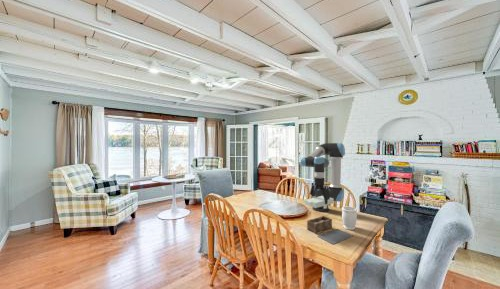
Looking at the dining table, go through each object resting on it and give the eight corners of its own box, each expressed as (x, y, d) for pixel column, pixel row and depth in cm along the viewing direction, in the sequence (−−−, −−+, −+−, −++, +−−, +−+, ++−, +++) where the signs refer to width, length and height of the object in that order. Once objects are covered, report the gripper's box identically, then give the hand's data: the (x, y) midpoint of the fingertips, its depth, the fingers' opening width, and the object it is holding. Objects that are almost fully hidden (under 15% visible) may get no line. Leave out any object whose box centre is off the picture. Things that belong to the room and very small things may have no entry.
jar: (344, 223, 166) (344, 205, 165) (358, 227, 159) (358, 207, 159) (340, 228, 157) (340, 209, 157) (354, 232, 151) (355, 211, 150)
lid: (323, 199, 165) (323, 195, 165) (333, 203, 157) (333, 198, 157) (303, 204, 155) (303, 200, 155) (313, 208, 146) (313, 203, 146)
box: (323, 224, 165) (323, 215, 165) (331, 228, 158) (331, 219, 158) (307, 229, 156) (307, 220, 156) (315, 233, 149) (315, 224, 149)
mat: (337, 229, 156) (337, 228, 156) (353, 236, 145) (353, 235, 145) (317, 236, 145) (317, 235, 145) (332, 244, 134) (332, 244, 134)
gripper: (305, 175, 163) (305, 203, 164) (328, 180, 144) (328, 211, 145) (311, 174, 167) (311, 201, 168) (335, 179, 148) (335, 209, 148)
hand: (319, 206), depth 156 cm, fingers closed on lid, 10 cm apart
